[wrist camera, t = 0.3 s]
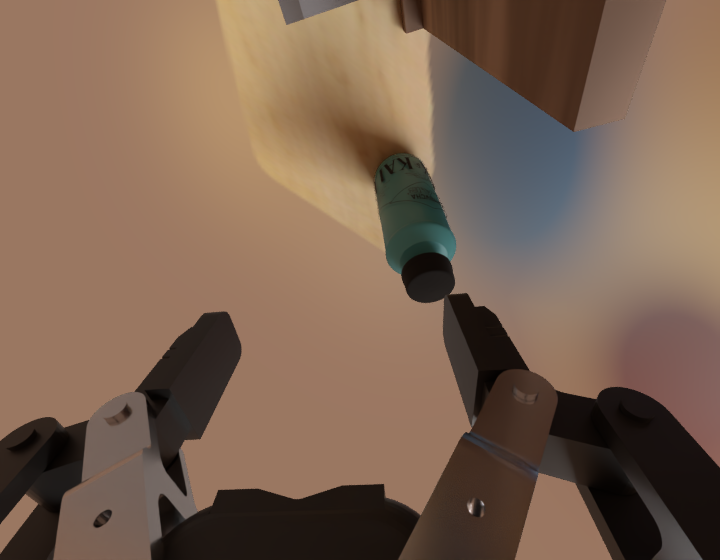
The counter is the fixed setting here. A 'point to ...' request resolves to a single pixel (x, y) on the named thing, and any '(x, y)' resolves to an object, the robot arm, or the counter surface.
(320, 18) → the counter surface
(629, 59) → the cup bracket
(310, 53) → the counter surface
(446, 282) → the beverage bottle
